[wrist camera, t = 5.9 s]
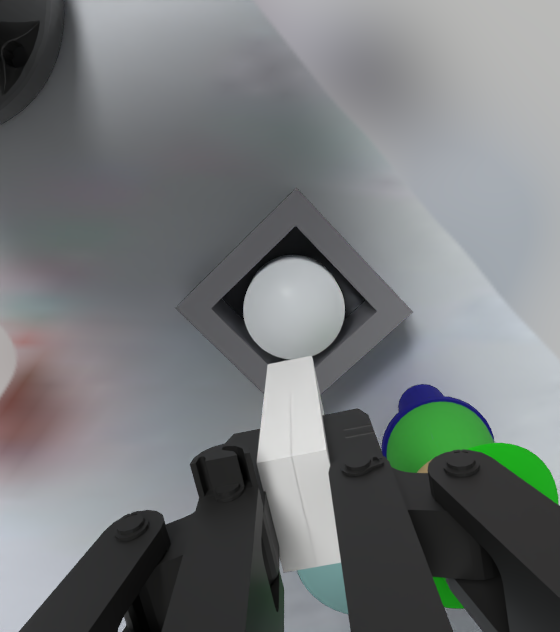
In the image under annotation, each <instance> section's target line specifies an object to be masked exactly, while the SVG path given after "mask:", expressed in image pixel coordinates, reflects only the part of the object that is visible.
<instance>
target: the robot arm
mask: <svg viewBox="0 0 560 632" xmlns="http://www.w3.org/2000/svg"><path fill="white" fill-rule="evenodd" d="M63 25H64V1H63V0H0V124H2V123H4V122H5V121H7V120H9V119H11V118H12V117H14V116H15V115H16V114H18V113H19V112H20V111H22V110H23V109H24V108H25V107H26V106H27V105H28V104H29V103H30V102H31V101H32V100H33V99H34V98H35V97H36V95H37V94H38V93H39V92H40V90H41V89H42V87H43V86H44V84H45V83H46V81H47V79H48V77H49V75H50V73H51V71H52V69H53V67H54V64H55V62H56V59H57V56H58V53H59V49H60V45H61V40H62V34H63ZM190 466H191V470H192V473H193V477H194V481H195V484H196V488H197V491H198V495H199V501H198V504H197V508H196V511H195V512H194V513H193V514H191V515H189V516H186V517H184V518H182V519H179V520H177V521H174V522H171V523H169V524H166V525H165V521H164V518H163V515H162V514H160V513H159V512H157V511H151V510H145V511H136V512H133V513H131V514H127V515H125V516H123V517H122V518H121V519H119V520H117V521H116V522H114V523H113V524H112V525H111V526H109V527H108V528H107V529H106V530H105V531H104V532H103V533H102V535H101V536H100V537H99V538H98V539H97V541H96V542H95V543H94V544H93V545H92V546H91V548H90V549H89V550H88V551H87V552H86V553H85V555H84V556H83V557H82V558H81V559H80V560H79V562H78V563H77V564H76V565H75V566H74V568H73V569H72V570H71V571H70V572H69V573H68V575H67V576H66V577H65V578H64V579H63V580H62V582H61V583H60V584H59V585H58V586H57V588H56V589H55V590H54V591H53V592H52V593H51V595H50V596H49V597H48V598H47V599H46V600H45V602H44V603H43V604H42V605H41V606H40V607H39V609H38V610H37V611H36V612H35V613H34V615H33V616H32V617H31V618H30V619H29V620H28V622H27V623H26V624H25V625H24V626H23V627H22V629H21V630H20V631H19V632H118V628H119V625H120V623H121V621H122V618H123V617H124V618H125V621H126V624H127V625H126V627H125V629H124V630H123V632H284V587H283V583H282V579H281V575H280V571H279V556H280V560H281V564H282V568H283V572H284V573H285V572H290V571H296V570H302V569H307V568H313V567H319V566H324V565H330V564H336V563H341V566H342V573H343V580H344V587H345V594H346V601H347V608H348V615H349V622H350V629H351V632H453V630H452V627H451V625H450V622H449V619H448V617H447V614H446V611H445V609H444V606H443V603H442V601H441V598H440V595H439V593H438V590H437V587H436V585H435V582H434V579H433V577H441V578H446V582H447V584H448V586H449V588H450V590H451V592H452V593H453V594H454V595H455V597H456V598H457V599H458V601H459V602H460V603H461V604H462V606H463V607H464V608H465V609H466V611H467V612H468V613H469V615H470V616H471V617H472V618H473V620H474V621H475V622H476V623H477V625H478V626H479V627H480V629H481V630H482V631H483V632H560V506H559V505H558V504H556V503H555V502H553V501H552V500H551V499H549V498H548V497H546V496H545V495H544V494H542V493H541V492H539V491H538V490H537V489H535V488H534V487H532V486H531V485H530V484H528V483H527V482H525V481H524V480H523V479H521V478H520V477H518V476H517V475H516V474H514V473H513V472H511V471H510V470H509V469H507V468H506V467H504V466H503V465H502V464H500V463H499V462H497V461H496V460H495V459H493V458H492V457H490V456H488V455H486V454H484V453H482V452H477V451H472V450H465V449H462V450H453V451H450V452H445V453H443V454H440V455H438V456H436V457H434V458H433V459H432V460H431V461H430V462H429V464H428V470H427V471H428V473H411V472H404V471H400V470H397V469H395V468H392V467H391V465H390V462H389V461H388V460H387V458H386V457H385V456H383V454H382V451H381V449H380V446H379V443H378V441H377V438H376V435H375V433H374V430H373V427H372V425H371V421H370V419H369V416H368V414H366V413H364V412H363V411H361V410H359V409H353V410H348V411H343V412H337V413H332V414H327V415H324V410H323V406H322V401H321V396H320V391H319V387H318V382H317V377H316V372H315V368H314V363H313V358H312V356H307V357H302V358H297V359H292V360H287V361H282V362H277V363H272V364H268V365H267V374H266V383H265V392H264V401H263V410H262V419H261V428H260V429H257V430H252V431H247V432H242V433H236V434H233V436H232V437H231V438H230V439H229V440H228V441H227V442H226V443H225V444H222V445H218V446H215V447H212V448H209V449H207V450H205V451H203V452H201V453H200V454H199V455H197V456H196V457H195V458H194V459H193V460H192V462H191V463H190Z"/></svg>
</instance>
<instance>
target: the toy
mask: <svg viewBox="0 0 560 632" xmlns="http://www.w3.org/2000/svg"><path fill="white" fill-rule="evenodd" d="M398 408H399V412H398V413H397V414H396V415H395V416H394V418H393V419H392V420H391V422H390V423H389V425H388V427H387V429H386V430H385V433H384V436H383V440H382V454H383V456H385V457H386V458H387V460H388V461H389V462H390V465H391V467H392V468H395V469H397V470H400V471H404V472H411V473H428V471H427V470H428V464H429V462H430V461H431V460H432V459H433V458H434V457H436V456H438V455H440V454H443V453H445V452H450V451H453V450H462V449H465V450H472V451H477V452H482V453H484V454H486V455H488V456H490V457H492V458H493V459H495V460H496V461H497V462H499V463H500V464H502V465H503V466H504V467H506V468H507V469H509V470H510V471H511V472H513V473H514V474H516V475H517V476H518V477H520V478H521V479H523V480H524V481H525V482H527V483H528V484H530V485H531V486H532V487H534V488H535V489H537V490H538V491H539V492H541V493H542V494H544V495H545V496H546V497H548V498H549V499H551V500H552V501H553V502H555V503H556V504H558V494H557V488H556V485H555V481H554V479H553V477H552V475H551V472H550V470H549V469H548V468H547V466H546V465H545V464H544V462H543V461H542V460H541V459H539V458H538V457H537V456H536V455H535V454H533V453H532V452H530V451H528V450H527V449H525V448H522V447H519V446H516V445H512V444H505V443H494V437H493V434H492V431H491V428H490V426H489V425H488V423H487V421H486V420H485V418H484V417H483V416H482V415H481V414H480V413H479V412H478V411H477V410H476V409H475V408H474V407H472V406H471V405H470V404H468V403H466V402H464V401H461V400H459V399H455V398H452V397H444V396H443V395H442V393H441V392H440V391H439V390H438V389H437V388H435V387H433V386H430V385H424V384H420V385H416V386H413V387H411V388H409V389H408V390H407V391H406V392H405V393H404V394H403V395H402V397H401V399H400V401H399V406H398ZM433 579H434V582H435V585H436V587H437V590H438V593H439V595H440V598H441V601H442V603H443V606H444V607H446V608H459V609H463V608H464V607H463V606H462V604H461V603H460V602H459V601H458V599H457V598H456V597H455V595H454V594H453V593H452V592H451V590H450V588H449V586H448V584H447V582H446V578H441V577H433Z"/></svg>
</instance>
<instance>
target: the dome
mask: <svg viewBox="0 0 560 632" xmlns="http://www.w3.org/2000/svg"><path fill="white" fill-rule="evenodd" d="M243 314H244V321H245V324H246V327H247V330H248V332H249V334H250V335H251V337H252V338H253V340H254V341H255V342H256V343H257V344H258V345H259V346H260V347H261V348H262V349H263V350H265V351H266V352H268V353H270V354H272V355H274V356H277V357H280V358H284V359H297V358H302V357H307V356H314V355H316V354H318V353H320V352H321V351H323V350H324V349H326V348H327V347H328V346H329V345H330V344H331V343H332V342H333V341H334V340H335V338H336V337H337V335H338V334H339V332H340V330H341V327H342V325H343V321H344V315H345V304H344V298H343V295H342V292H341V290H340V288H339V286H338V284H337V282H336V280H335V279H334V277H333V275H332V274H331V273H330V271H329V270H328V269H327V268H326V267H325V266H324V265H323V264H321V263H320V262H318V261H317V260H315V259H313V258H310V257H307V256H303V255H295V254H294V255H284V256H280V257H277V258H275V259H273V260H271V261H269V262H267V263H266V264H265V265H263V266H262V267H261V268H260V269H259V270H258V271H257V273H256V274H255V276H254V277H253V279H252V281H251V283H250V285H249V288H248V290H247V293H246V296H245V299H244V306H243Z"/></svg>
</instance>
